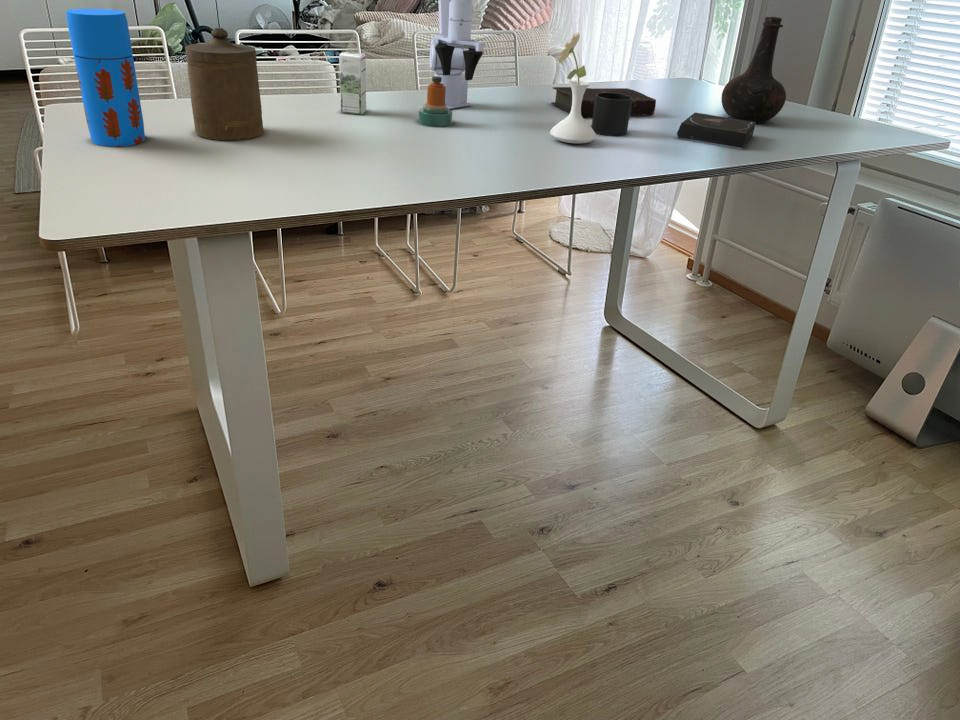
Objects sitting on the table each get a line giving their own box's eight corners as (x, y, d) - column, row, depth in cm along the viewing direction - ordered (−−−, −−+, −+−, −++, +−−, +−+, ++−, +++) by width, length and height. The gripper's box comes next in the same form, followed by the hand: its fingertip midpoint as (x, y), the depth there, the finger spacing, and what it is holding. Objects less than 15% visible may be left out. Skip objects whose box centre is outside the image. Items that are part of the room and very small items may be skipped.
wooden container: (234, 121, 178) (224, 22, 167) (276, 133, 171) (269, 30, 160) (181, 131, 167) (166, 25, 156) (223, 144, 160) (211, 35, 149)
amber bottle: (435, 100, 191) (436, 74, 188) (448, 104, 189) (449, 77, 186) (423, 103, 188) (423, 76, 185) (436, 106, 186) (437, 79, 182)
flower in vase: (568, 133, 190) (581, 27, 178) (604, 143, 184) (620, 34, 171) (535, 140, 182) (546, 29, 169) (570, 150, 175) (585, 36, 163)
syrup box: (366, 110, 198) (366, 52, 191) (361, 115, 193) (360, 55, 186) (345, 108, 198) (344, 50, 191) (340, 113, 193) (338, 53, 186)
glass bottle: (713, 121, 215) (737, 15, 201) (720, 110, 230) (742, 11, 216) (777, 130, 210) (806, 22, 196) (780, 118, 225) (807, 18, 210)
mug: (641, 133, 195) (647, 98, 191) (608, 137, 189) (614, 101, 184) (615, 125, 202) (620, 90, 197) (583, 129, 195) (588, 93, 191)
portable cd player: (689, 126, 206) (692, 112, 204) (752, 137, 200) (755, 122, 198) (675, 138, 194) (679, 122, 191) (742, 149, 188) (746, 133, 186)
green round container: (434, 117, 196) (434, 98, 194) (458, 123, 192) (459, 104, 189) (411, 121, 190) (412, 102, 188) (436, 128, 186) (437, 108, 183)
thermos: (157, 138, 161) (137, 12, 149) (121, 149, 152) (97, 16, 140) (116, 131, 164) (94, 7, 151) (78, 141, 155) (51, 10, 143)
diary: (654, 116, 215) (657, 98, 213) (578, 118, 207) (580, 99, 204) (621, 102, 230) (624, 86, 227) (549, 104, 221) (551, 86, 219)
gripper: (427, 17, 185) (426, 74, 192) (472, 24, 178) (469, 83, 185) (446, 16, 190) (444, 71, 197) (490, 23, 183) (486, 80, 190)
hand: (457, 77), depth 191 cm, fingers open, 7 cm apart
